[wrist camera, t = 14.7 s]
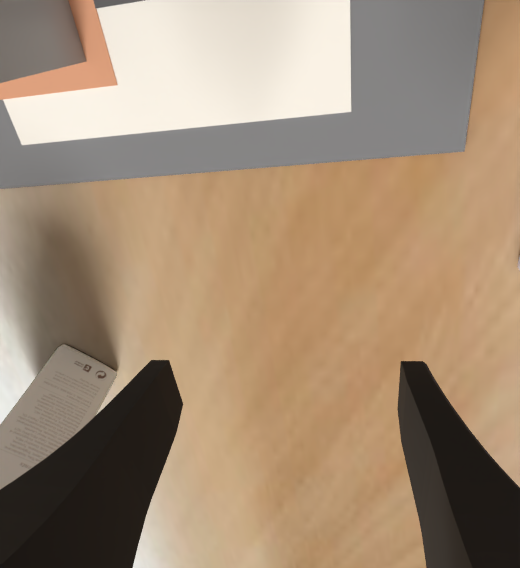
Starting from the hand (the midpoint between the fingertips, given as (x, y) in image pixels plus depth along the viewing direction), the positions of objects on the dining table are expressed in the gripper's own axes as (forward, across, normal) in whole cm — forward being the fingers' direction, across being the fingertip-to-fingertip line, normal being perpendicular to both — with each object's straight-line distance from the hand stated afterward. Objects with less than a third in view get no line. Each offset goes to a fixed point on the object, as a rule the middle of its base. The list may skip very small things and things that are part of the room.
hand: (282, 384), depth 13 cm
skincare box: (+10, +16, +10) cm, 21 cm away
